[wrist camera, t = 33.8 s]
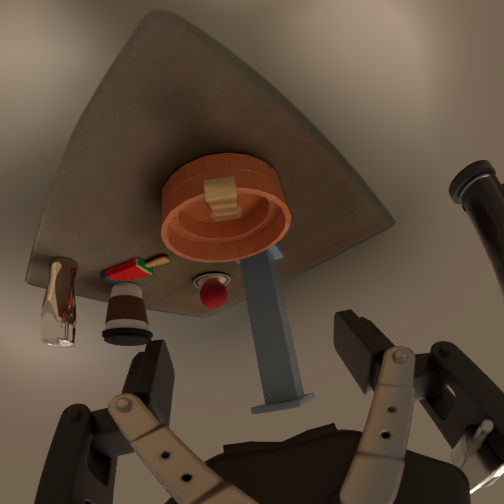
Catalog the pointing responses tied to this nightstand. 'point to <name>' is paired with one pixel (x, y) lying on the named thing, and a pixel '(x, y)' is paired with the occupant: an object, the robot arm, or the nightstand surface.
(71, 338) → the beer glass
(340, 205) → the nightstand surface
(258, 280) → the stand
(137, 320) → the coffee cup
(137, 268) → the popsicle
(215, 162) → the bowl
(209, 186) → the stick
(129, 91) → the nightstand surface
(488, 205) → the robot arm
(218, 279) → the apple
